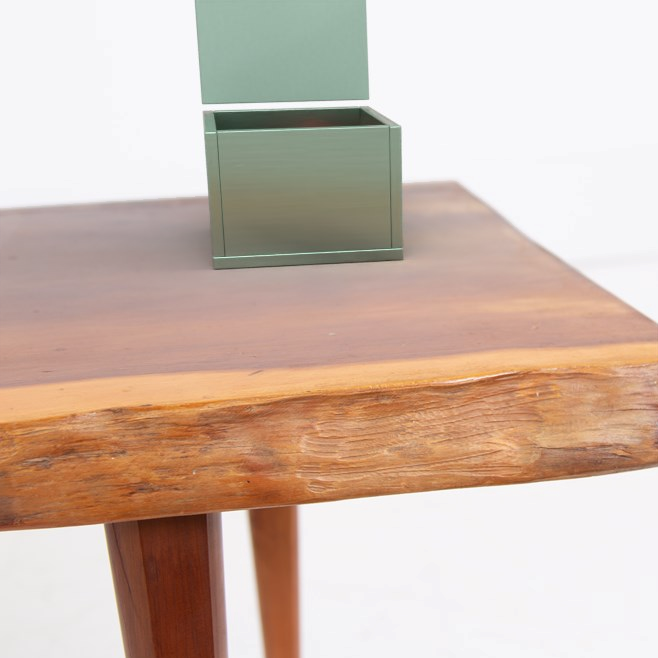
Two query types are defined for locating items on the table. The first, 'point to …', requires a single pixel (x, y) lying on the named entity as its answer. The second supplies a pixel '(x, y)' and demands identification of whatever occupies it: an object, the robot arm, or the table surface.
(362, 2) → the lid
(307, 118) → the box
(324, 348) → the table surface
